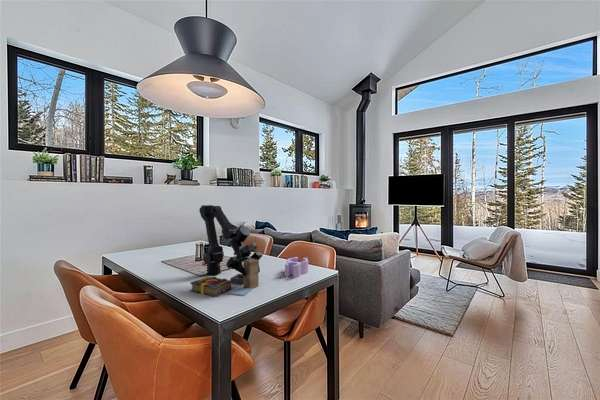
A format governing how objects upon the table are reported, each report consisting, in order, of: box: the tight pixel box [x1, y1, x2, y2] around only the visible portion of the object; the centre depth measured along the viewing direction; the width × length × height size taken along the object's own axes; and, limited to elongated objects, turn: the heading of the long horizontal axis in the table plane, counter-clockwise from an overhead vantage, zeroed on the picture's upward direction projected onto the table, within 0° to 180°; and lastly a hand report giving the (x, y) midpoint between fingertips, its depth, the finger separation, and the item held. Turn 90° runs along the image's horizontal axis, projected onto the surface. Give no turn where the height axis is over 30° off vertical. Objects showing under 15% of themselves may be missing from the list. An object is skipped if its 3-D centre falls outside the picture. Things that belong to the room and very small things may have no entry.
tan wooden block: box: [243, 259, 259, 290], centre depth 131 cm, size 5×5×13 cm
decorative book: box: [189, 276, 233, 298], centre depth 126 cm, size 11×16×5 cm
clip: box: [284, 256, 309, 279], centre depth 156 cm, size 20×12×7 cm, turn 162°
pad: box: [227, 286, 253, 297], centre depth 124 cm, size 8×8×1 cm
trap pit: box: [230, 273, 244, 285], centre depth 140 cm, size 8×8×2 cm
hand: (252, 273), depth 130 cm, fingers open, 8 cm apart
